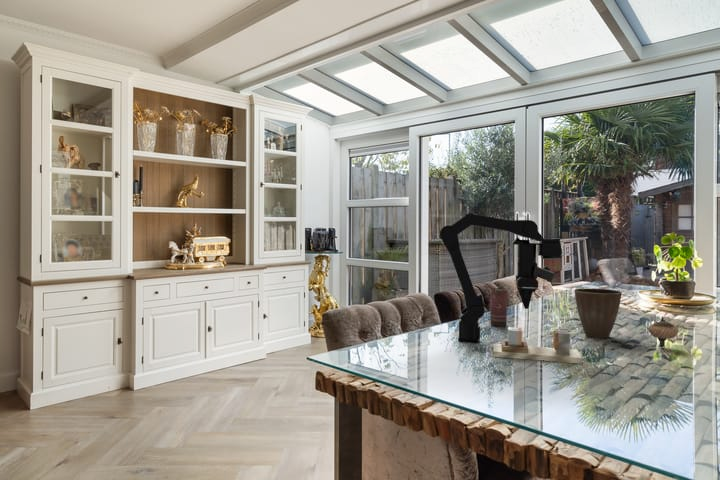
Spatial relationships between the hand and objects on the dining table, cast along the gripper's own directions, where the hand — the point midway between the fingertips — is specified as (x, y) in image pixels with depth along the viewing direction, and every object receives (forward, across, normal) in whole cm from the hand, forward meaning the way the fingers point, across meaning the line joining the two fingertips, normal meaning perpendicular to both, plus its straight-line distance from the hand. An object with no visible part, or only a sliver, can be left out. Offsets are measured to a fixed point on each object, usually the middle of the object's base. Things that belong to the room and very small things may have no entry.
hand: (525, 306), depth 159 cm
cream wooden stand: (+12, -16, -2) cm, 20 cm away
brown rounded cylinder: (+12, +28, +9) cm, 32 cm away
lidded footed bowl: (+12, +8, -42) cm, 44 cm away
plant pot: (+12, +20, -25) cm, 34 cm away
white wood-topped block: (+10, -16, +4) cm, 19 cm away
